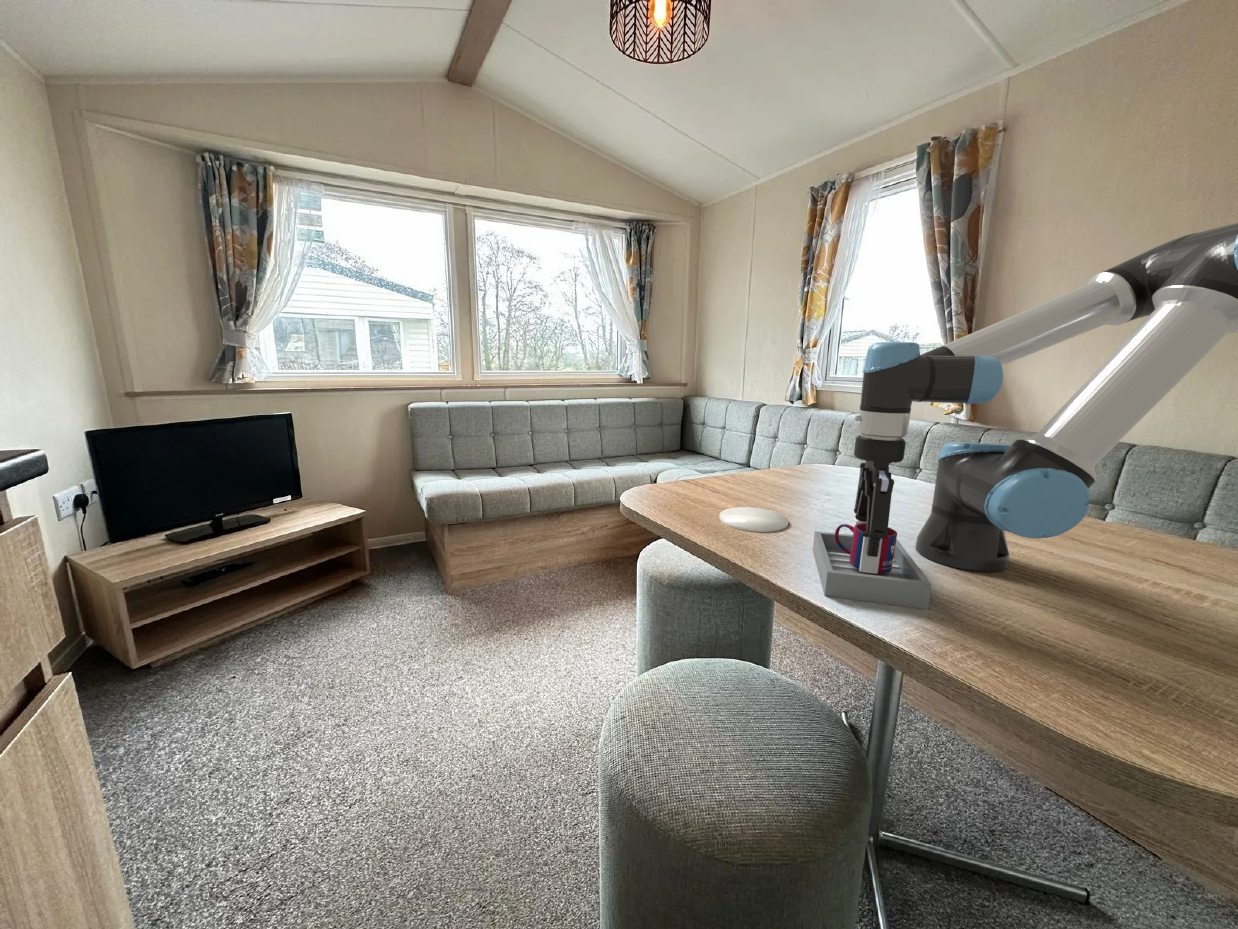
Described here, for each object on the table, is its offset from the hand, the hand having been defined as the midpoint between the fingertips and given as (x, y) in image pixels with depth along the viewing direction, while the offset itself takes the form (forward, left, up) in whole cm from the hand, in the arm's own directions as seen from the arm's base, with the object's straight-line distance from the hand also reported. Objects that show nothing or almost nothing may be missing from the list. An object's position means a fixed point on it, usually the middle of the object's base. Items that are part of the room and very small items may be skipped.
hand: (863, 563), depth 86 cm
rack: (0, 0, -3) cm, 3 cm away
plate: (+19, -26, -3) cm, 33 cm away
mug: (0, -1, -1) cm, 1 cm away
